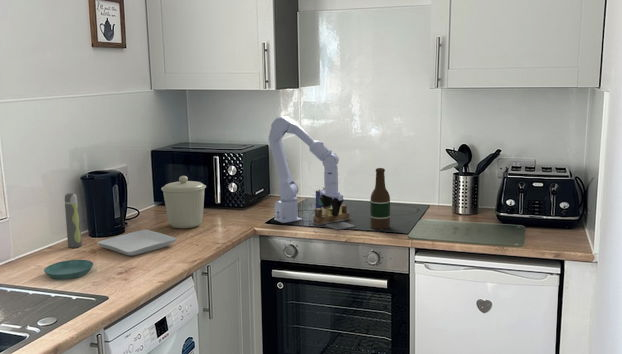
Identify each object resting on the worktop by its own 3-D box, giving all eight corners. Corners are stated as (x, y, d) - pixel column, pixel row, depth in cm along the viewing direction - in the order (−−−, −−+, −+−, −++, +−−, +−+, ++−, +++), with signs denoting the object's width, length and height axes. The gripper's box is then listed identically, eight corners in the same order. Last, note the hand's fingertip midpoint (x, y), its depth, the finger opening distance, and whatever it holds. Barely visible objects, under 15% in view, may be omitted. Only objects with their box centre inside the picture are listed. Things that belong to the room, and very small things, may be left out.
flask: (335, 210, 275) (334, 187, 273) (332, 212, 273) (331, 188, 271) (317, 208, 280) (316, 186, 278) (314, 210, 277) (313, 187, 275)
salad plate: (129, 260, 208) (128, 251, 207) (96, 250, 222) (95, 240, 221) (179, 246, 224) (178, 237, 223) (145, 237, 238) (145, 228, 237)
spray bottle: (85, 245, 226) (80, 192, 223) (74, 248, 222) (70, 195, 219) (75, 244, 229) (70, 192, 225) (65, 247, 224) (60, 194, 221)
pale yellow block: (328, 216, 251) (327, 208, 251) (321, 214, 255) (321, 206, 255) (341, 214, 255) (341, 206, 254) (335, 212, 259) (335, 204, 258)
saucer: (49, 269, 200) (48, 261, 199) (96, 265, 203) (95, 257, 203) (40, 284, 186) (39, 276, 185) (91, 279, 189) (90, 271, 189)
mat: (337, 230, 241) (337, 229, 241) (324, 225, 248) (324, 224, 248) (355, 226, 246) (355, 225, 245) (342, 222, 253) (342, 221, 253)
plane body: (317, 225, 250) (317, 210, 249) (312, 223, 253) (312, 208, 252) (350, 219, 258) (350, 205, 257) (345, 217, 261) (344, 203, 260)
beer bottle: (389, 225, 247) (389, 166, 243) (390, 229, 240) (390, 170, 236) (370, 224, 248) (370, 166, 244) (370, 229, 241) (370, 170, 237)
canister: (212, 228, 248) (209, 177, 244) (167, 233, 241) (164, 181, 238) (203, 218, 265) (200, 171, 261) (160, 223, 258) (157, 174, 254)
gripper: (349, 183, 249) (349, 216, 251) (329, 179, 261) (329, 209, 263) (334, 185, 245) (335, 218, 247) (315, 180, 257) (316, 212, 259)
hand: (331, 214), depth 255 cm, fingers open, 6 cm apart
